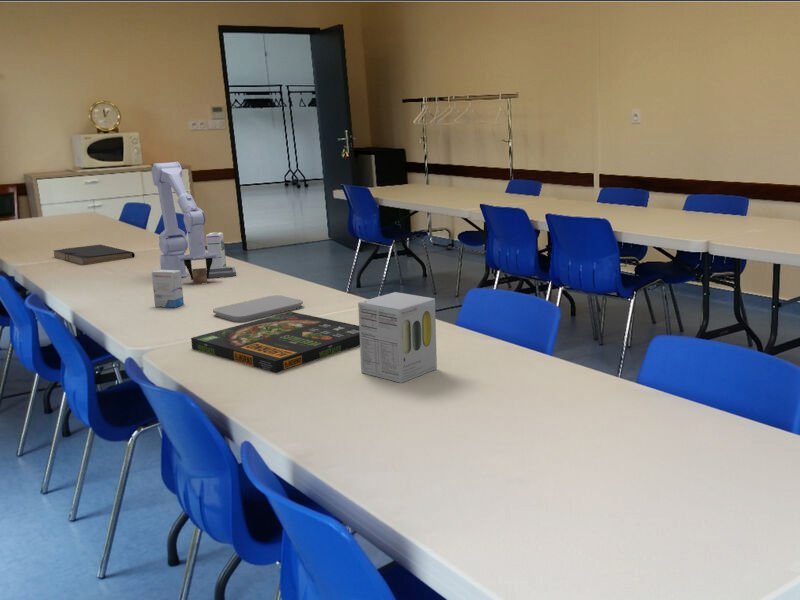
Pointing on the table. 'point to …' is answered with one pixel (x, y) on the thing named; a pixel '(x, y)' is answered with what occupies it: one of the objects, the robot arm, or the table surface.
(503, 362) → the table surface
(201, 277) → the walnut cube
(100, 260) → the file folder
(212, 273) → the grey dish
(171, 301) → the ink box
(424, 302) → the supplement box
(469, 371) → the table surface
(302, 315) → the pizza box
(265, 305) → the tablet
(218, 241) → the syrup box
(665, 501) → the table surface
